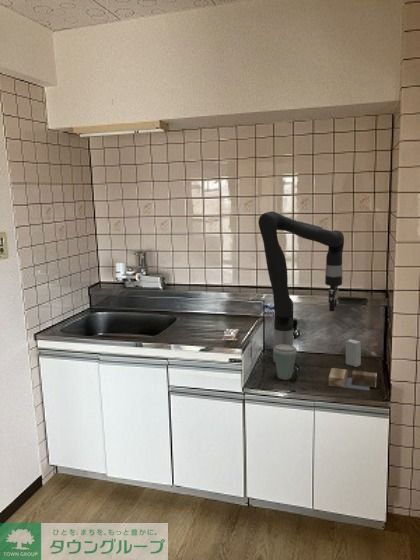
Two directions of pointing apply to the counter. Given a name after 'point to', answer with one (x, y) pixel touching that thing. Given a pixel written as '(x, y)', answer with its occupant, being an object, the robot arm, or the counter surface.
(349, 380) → the rubber mat
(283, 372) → the disposable coffee cup
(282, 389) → the counter surface
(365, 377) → the walnut block
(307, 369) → the counter surface
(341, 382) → the beech step
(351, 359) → the skincare box
